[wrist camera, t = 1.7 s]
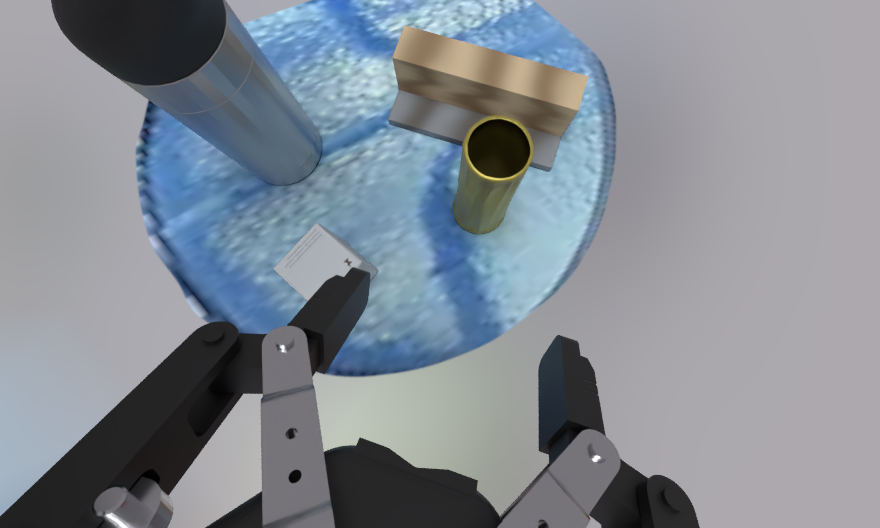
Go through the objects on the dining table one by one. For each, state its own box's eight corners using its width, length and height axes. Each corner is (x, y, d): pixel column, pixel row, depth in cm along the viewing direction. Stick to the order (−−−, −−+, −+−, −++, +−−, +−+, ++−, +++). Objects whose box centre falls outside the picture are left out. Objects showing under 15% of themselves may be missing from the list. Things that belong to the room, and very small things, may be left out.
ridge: (389, 123, 39) (379, 90, 34) (421, 40, 41) (416, -6, 35) (549, 171, 38) (568, 146, 32) (575, 83, 40) (598, 43, 34)
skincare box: (341, 237, 38) (315, 219, 30) (379, 271, 37) (363, 261, 30) (304, 277, 37) (270, 268, 30) (343, 312, 36) (317, 312, 29)
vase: (485, 173, 38) (507, 94, 24) (516, 215, 38) (558, 157, 23) (442, 202, 38) (440, 138, 24) (472, 244, 37) (489, 204, 23)
